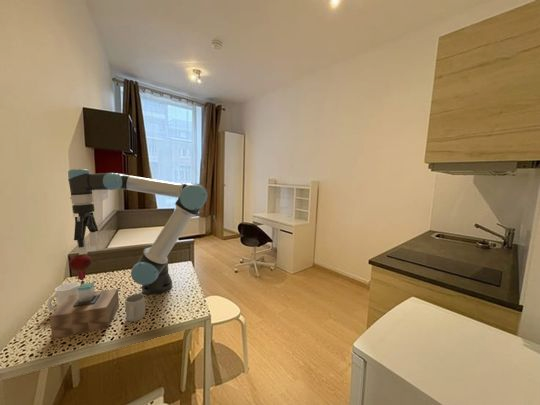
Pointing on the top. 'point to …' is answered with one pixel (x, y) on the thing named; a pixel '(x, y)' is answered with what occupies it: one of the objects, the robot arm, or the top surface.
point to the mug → (63, 294)
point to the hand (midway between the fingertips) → (89, 249)
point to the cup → (135, 307)
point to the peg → (86, 292)
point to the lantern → (80, 265)
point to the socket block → (84, 314)
